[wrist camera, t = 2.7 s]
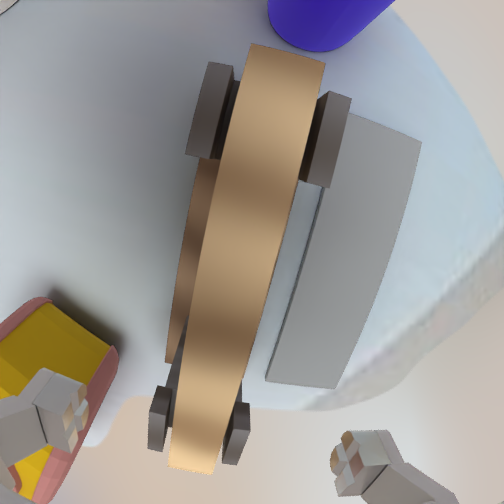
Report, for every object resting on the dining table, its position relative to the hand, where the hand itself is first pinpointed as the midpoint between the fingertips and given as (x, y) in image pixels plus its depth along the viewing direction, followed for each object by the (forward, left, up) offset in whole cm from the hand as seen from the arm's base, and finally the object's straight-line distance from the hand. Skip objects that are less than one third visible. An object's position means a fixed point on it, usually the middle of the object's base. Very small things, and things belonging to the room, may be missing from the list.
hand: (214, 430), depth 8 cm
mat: (0, +10, -20) cm, 23 cm away
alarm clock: (+18, -16, -21) cm, 32 cm away
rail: (0, 0, -9) cm, 9 cm away
